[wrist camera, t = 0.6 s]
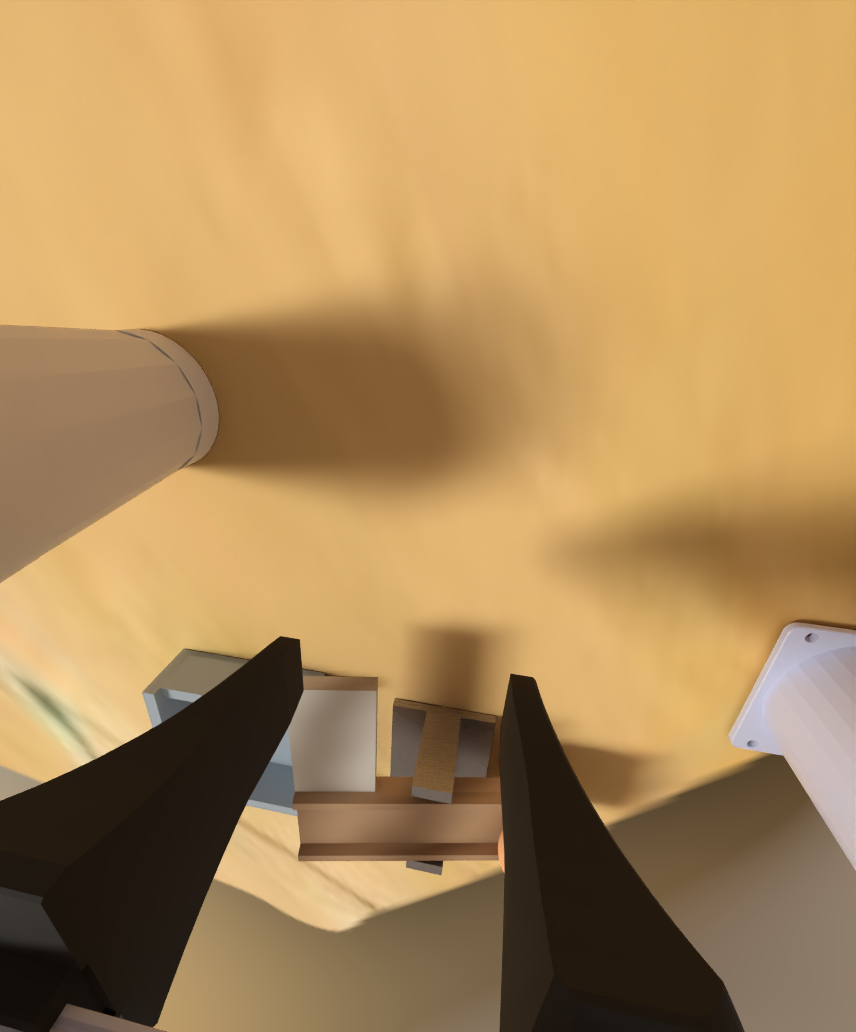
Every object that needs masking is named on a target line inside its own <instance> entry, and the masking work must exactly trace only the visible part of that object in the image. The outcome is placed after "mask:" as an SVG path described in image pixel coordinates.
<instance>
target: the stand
mask: <svg viewBox="0 0 856 1032" xmlns="http://www.w3.org/2000/svg"><path fill="white" fill-rule="evenodd" d="M495 724H496V716H492V715H487V714H481V713H475V712H469V711H464V710H458V709H452V708H446V707H441V706H435V705H429V704H424V703H418V702H412V701H406V700H401V699H395V700H394V704H393V721H392V748H391V774H390V777H414V778H413V783H412V793H411V796H414V797H419V798H424V799H429V800H434V801H439V802H444V803H449V804H451V801H452V793H453V784H454V777H486V773H487V768H488V762H489V757H490V751H491V746H492V740H493V735H494V729H495ZM442 867H443V861H407V862H406V868H411V869H415V870H420V871H424V872H429V873H433V874H438V875H441V874H442Z"/></svg>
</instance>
